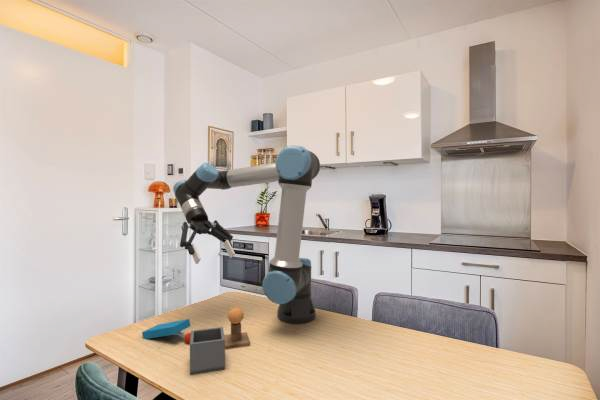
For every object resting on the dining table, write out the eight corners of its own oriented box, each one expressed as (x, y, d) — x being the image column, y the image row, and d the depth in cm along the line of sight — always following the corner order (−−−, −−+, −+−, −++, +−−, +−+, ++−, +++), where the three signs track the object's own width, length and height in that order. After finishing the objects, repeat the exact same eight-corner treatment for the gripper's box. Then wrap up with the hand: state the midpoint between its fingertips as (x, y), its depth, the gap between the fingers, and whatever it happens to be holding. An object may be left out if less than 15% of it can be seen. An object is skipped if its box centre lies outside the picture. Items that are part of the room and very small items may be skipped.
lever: (146, 353, 102) (187, 347, 96) (141, 332, 103) (182, 325, 97) (162, 344, 109) (202, 338, 102) (158, 324, 109) (197, 317, 103)
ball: (242, 319, 103) (242, 304, 103) (244, 325, 98) (244, 309, 98) (227, 321, 102) (227, 306, 102) (228, 327, 97) (228, 311, 97)
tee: (246, 335, 105) (246, 317, 105) (250, 345, 97) (250, 326, 97) (222, 338, 103) (222, 320, 103) (224, 349, 95) (224, 329, 95)
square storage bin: (222, 353, 93) (222, 326, 93) (224, 369, 84) (224, 339, 84) (191, 358, 90) (191, 330, 90) (189, 374, 81) (189, 344, 81)
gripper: (219, 218, 128) (240, 260, 118) (158, 221, 110) (178, 270, 100) (226, 206, 125) (249, 247, 115) (165, 207, 106) (186, 256, 96)
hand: (216, 258), depth 107 cm, fingers open, 13 cm apart
